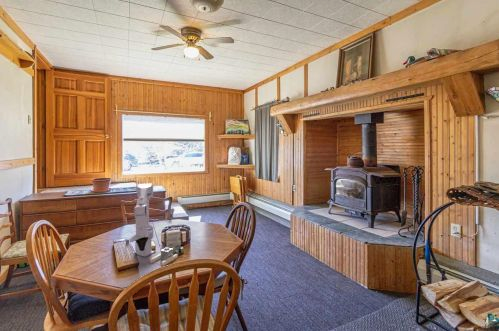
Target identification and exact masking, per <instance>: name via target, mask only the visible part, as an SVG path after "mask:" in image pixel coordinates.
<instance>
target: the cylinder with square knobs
mask: <svg viewBox="0 0 499 331" xmlns="http://www.w3.org/2000/svg"><path fill="white" fill-rule="evenodd" d="M184 252H185V250H184V247H183V246H182V245H181V246H180V245H178V246H175V247H173V255H175V254H178V256H179V255H180V254H182V253H184Z"/></svg>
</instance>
